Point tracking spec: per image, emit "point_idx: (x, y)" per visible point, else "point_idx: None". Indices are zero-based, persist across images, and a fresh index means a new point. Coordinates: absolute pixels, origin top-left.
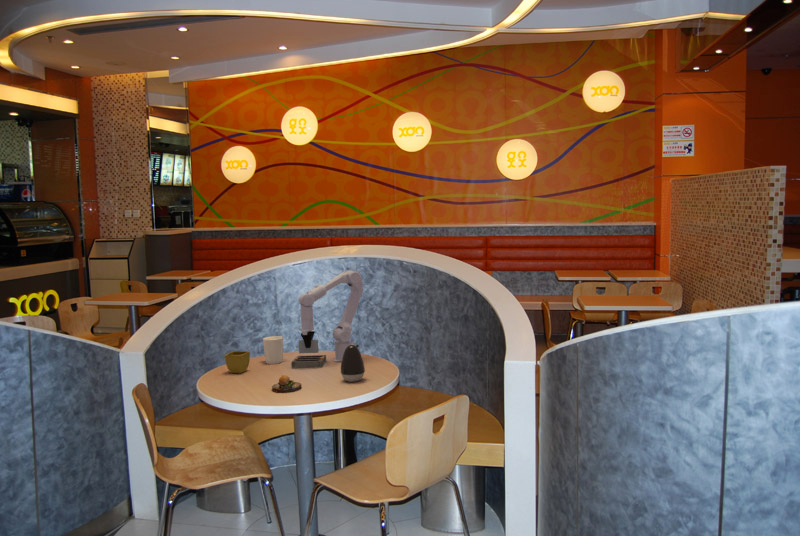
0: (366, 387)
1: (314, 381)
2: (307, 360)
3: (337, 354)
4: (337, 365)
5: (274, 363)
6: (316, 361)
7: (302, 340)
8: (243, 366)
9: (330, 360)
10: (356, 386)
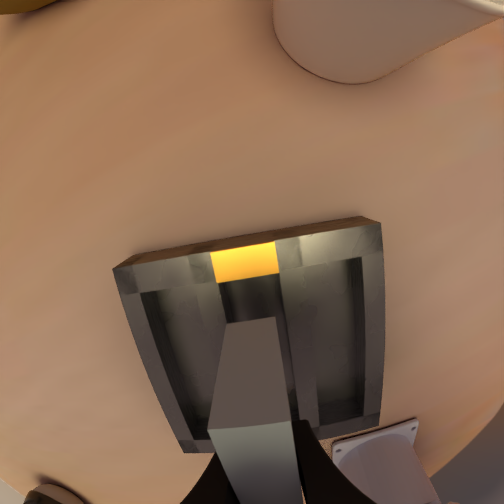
0: None
1: (3, 414)
2: (217, 367)
3: (352, 478)
4: None
5: (280, 43)
6: (174, 433)
7: (250, 467)
8: (13, 7)
9: None
10: None
